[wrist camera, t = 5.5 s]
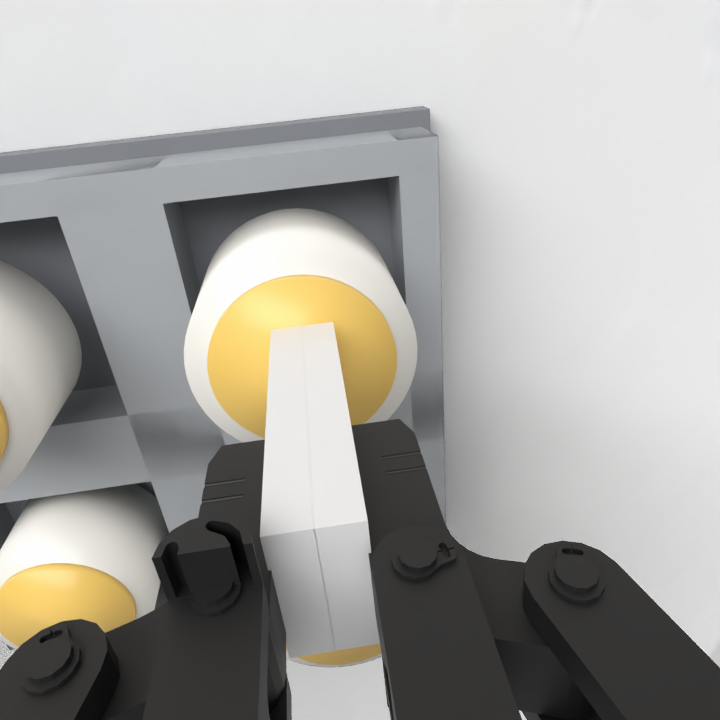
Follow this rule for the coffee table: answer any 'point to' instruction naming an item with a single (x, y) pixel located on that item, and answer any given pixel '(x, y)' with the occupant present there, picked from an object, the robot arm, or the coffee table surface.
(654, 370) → the coffee table surface
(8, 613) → the button
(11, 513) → the board
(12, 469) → the button
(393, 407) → the button
